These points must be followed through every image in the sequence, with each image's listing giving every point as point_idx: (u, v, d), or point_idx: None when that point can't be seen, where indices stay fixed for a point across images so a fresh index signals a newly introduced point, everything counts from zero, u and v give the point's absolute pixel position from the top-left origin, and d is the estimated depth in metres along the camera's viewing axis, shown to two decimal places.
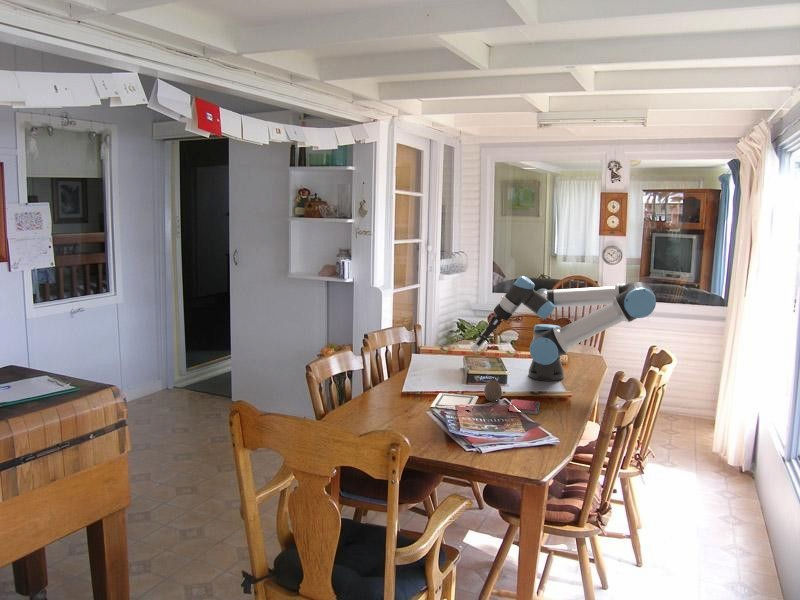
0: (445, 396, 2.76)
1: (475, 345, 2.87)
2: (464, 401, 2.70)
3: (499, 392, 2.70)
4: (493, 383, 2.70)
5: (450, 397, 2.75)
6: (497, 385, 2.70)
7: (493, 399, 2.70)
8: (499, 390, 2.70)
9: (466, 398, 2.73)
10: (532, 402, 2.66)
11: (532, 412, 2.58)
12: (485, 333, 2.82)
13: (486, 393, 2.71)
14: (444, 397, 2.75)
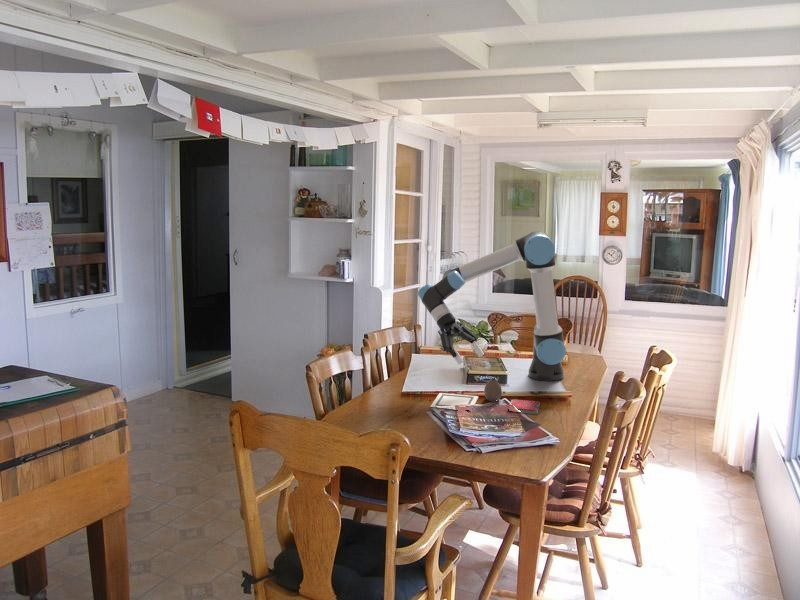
0: (445, 396, 2.76)
1: (456, 359, 2.73)
2: (464, 401, 2.70)
3: (499, 392, 2.70)
4: (493, 383, 2.70)
5: (450, 397, 2.75)
6: (497, 385, 2.70)
7: (493, 399, 2.70)
8: (499, 390, 2.70)
9: (466, 398, 2.73)
10: (532, 402, 2.66)
11: (532, 412, 2.58)
12: (443, 344, 2.74)
13: (486, 393, 2.71)
14: (444, 397, 2.75)
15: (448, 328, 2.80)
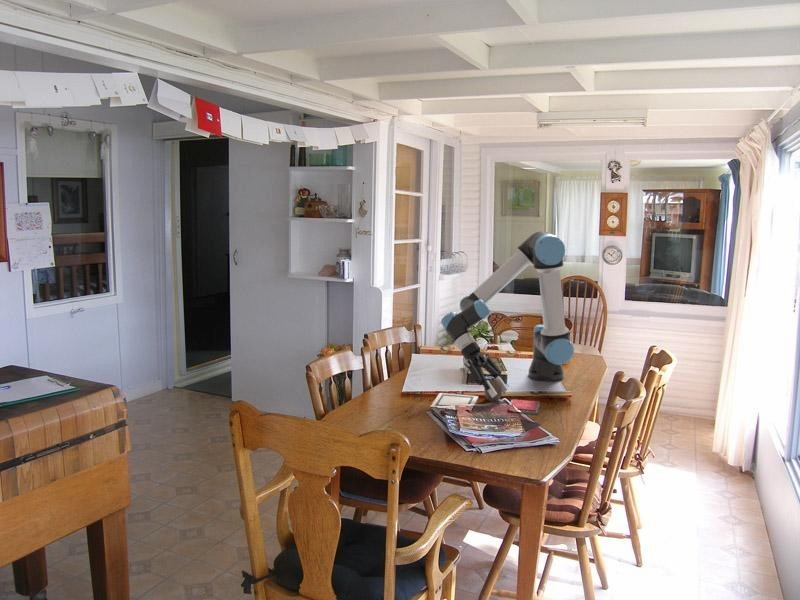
0: (445, 396, 2.76)
1: (489, 391, 2.68)
2: (464, 401, 2.70)
3: (499, 392, 2.70)
4: (493, 383, 2.70)
5: (450, 397, 2.75)
6: (497, 385, 2.70)
7: (493, 399, 2.70)
8: (499, 390, 2.70)
9: (466, 398, 2.73)
10: (532, 402, 2.66)
11: (532, 412, 2.58)
12: (475, 377, 2.69)
13: (486, 393, 2.71)
14: (444, 397, 2.75)
15: (473, 357, 2.73)
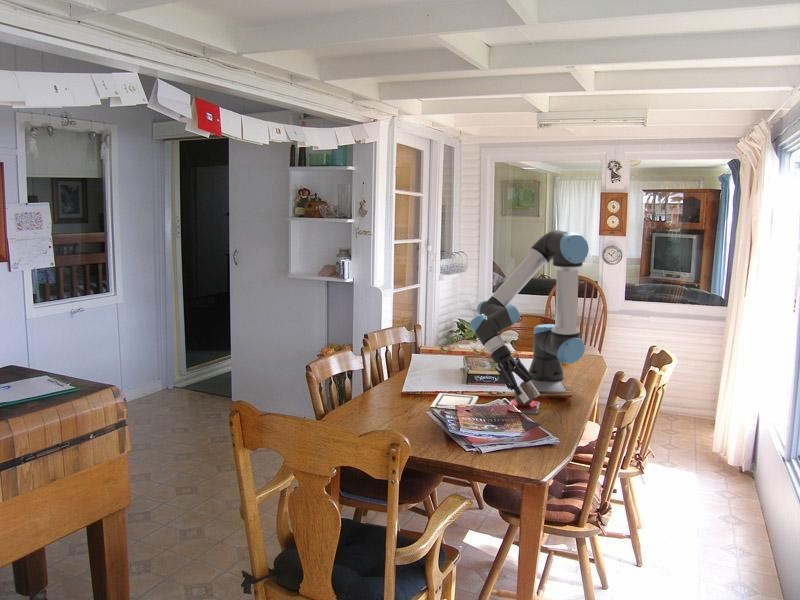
0: (445, 396, 2.76)
1: (521, 397, 2.59)
2: (464, 401, 2.70)
3: (530, 396, 2.60)
4: (524, 387, 2.60)
5: (450, 397, 2.75)
6: (528, 389, 2.60)
7: (524, 404, 2.61)
8: (530, 394, 2.60)
9: (466, 398, 2.73)
10: (532, 402, 2.66)
11: (532, 412, 2.58)
12: (506, 382, 2.59)
13: (517, 397, 2.61)
14: (444, 397, 2.75)
15: (503, 361, 2.64)
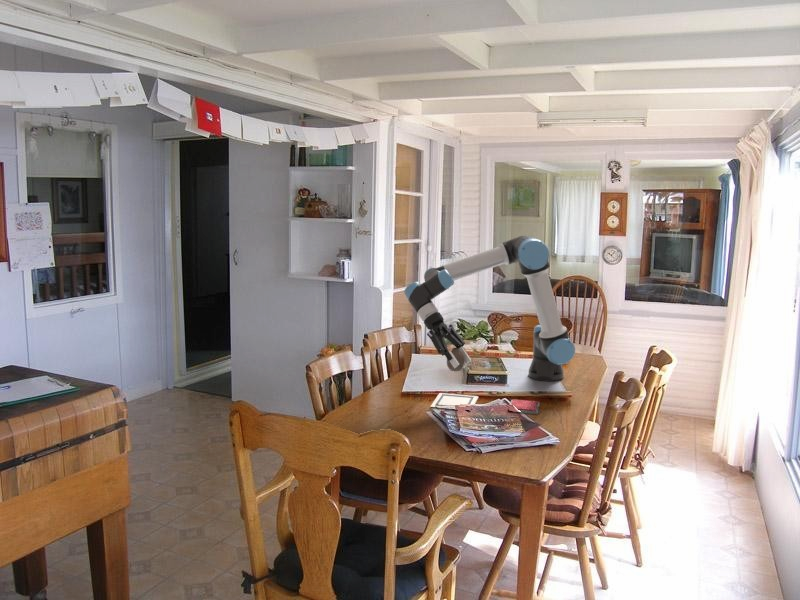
0: (445, 396, 2.76)
1: (452, 362, 2.63)
2: (464, 401, 2.70)
3: (461, 362, 2.64)
4: (455, 352, 2.64)
5: (450, 397, 2.75)
6: (459, 354, 2.64)
7: (455, 369, 2.65)
8: (461, 360, 2.64)
9: (466, 398, 2.73)
10: (532, 402, 2.66)
11: (532, 412, 2.58)
12: (437, 347, 2.63)
13: (448, 363, 2.65)
14: (444, 397, 2.75)
15: (435, 328, 2.68)
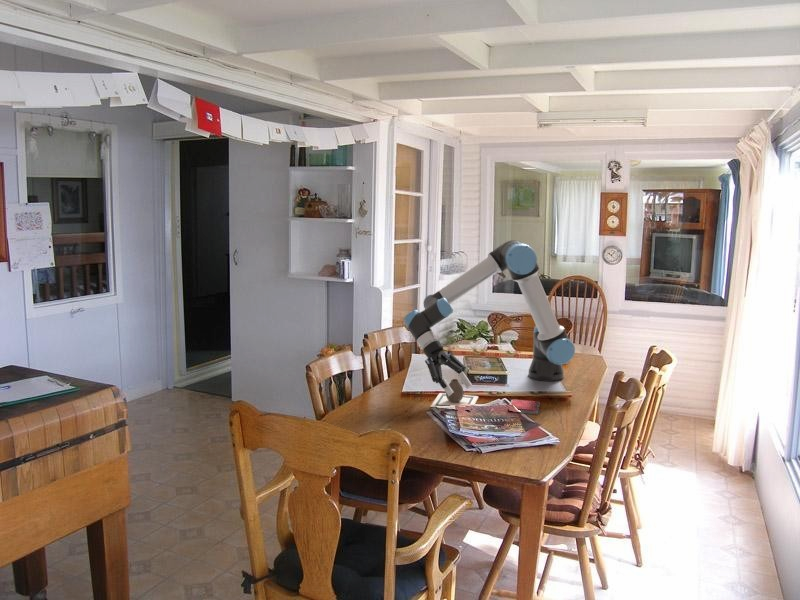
0: (445, 396, 2.76)
1: (446, 390, 2.64)
2: (464, 401, 2.70)
3: (460, 393, 2.67)
4: (454, 384, 2.67)
5: None
6: (458, 386, 2.67)
7: (454, 400, 2.67)
8: (460, 391, 2.67)
9: (466, 398, 2.73)
10: (532, 402, 2.66)
11: (532, 412, 2.58)
12: (432, 375, 2.65)
13: None
14: (444, 397, 2.75)
15: (435, 356, 2.70)
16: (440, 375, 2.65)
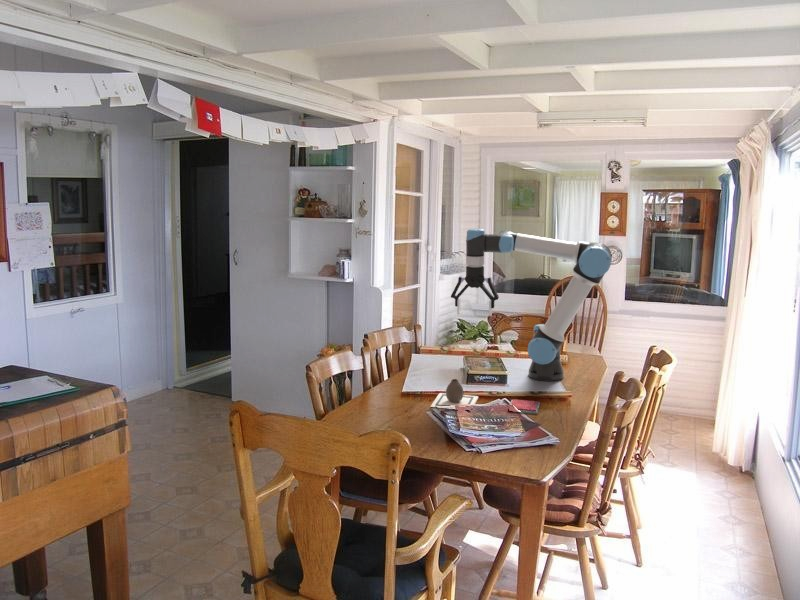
0: (445, 396, 2.76)
1: None
2: (464, 401, 2.70)
3: (460, 393, 2.67)
4: (454, 384, 2.67)
5: None
6: (458, 386, 2.67)
7: (454, 400, 2.67)
8: (460, 391, 2.67)
9: (466, 398, 2.73)
10: (532, 402, 2.66)
11: (532, 412, 2.58)
12: None
13: (447, 394, 2.68)
14: (444, 397, 2.75)
15: (468, 279, 2.90)
16: (457, 296, 2.92)
